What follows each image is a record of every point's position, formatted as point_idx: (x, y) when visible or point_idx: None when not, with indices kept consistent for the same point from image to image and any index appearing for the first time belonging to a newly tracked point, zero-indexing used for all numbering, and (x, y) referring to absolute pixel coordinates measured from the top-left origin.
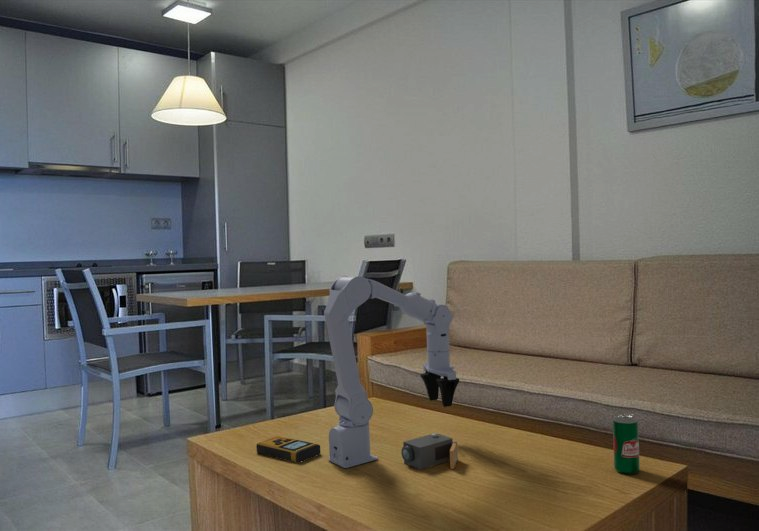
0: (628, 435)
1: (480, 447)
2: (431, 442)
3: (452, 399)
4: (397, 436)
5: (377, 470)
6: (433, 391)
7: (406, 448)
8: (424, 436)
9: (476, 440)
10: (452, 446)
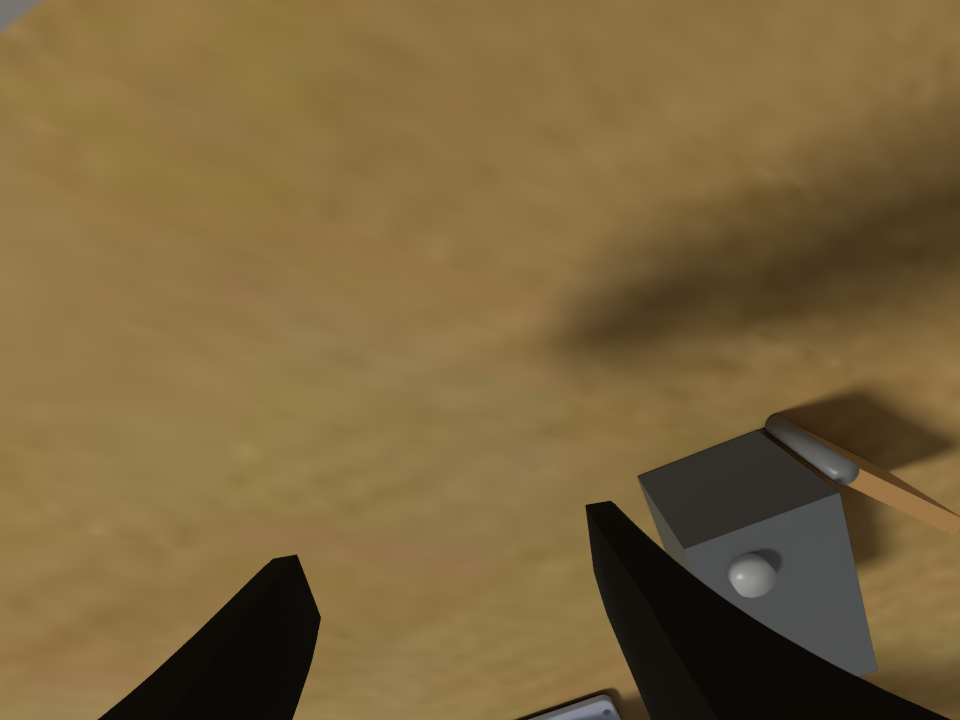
0: None
1: (648, 228)
2: (837, 608)
3: (647, 538)
4: None
5: None
6: (267, 679)
7: None
8: None
9: (510, 199)
10: (899, 504)
